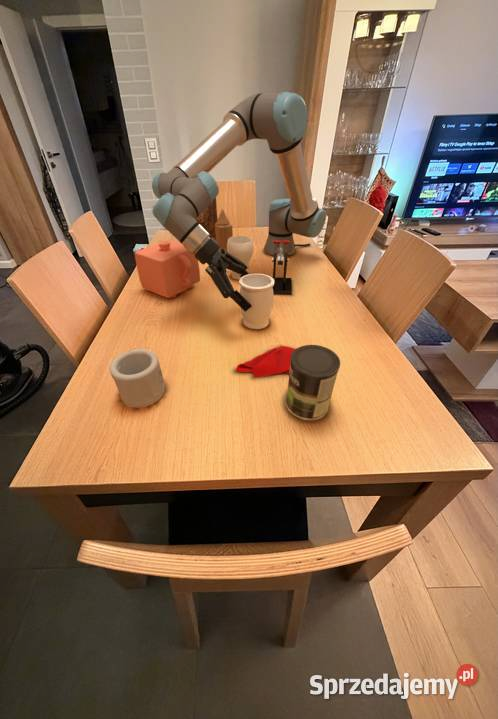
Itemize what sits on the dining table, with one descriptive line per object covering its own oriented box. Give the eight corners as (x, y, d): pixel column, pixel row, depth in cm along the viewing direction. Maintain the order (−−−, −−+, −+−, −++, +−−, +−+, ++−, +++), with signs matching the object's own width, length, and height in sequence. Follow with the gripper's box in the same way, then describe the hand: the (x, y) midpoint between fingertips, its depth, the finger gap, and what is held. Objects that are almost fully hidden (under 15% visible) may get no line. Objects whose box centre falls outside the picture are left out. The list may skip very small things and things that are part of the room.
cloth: (328, 350, 88) (330, 344, 86) (334, 383, 77) (335, 376, 76) (240, 344, 90) (240, 338, 88) (234, 376, 79) (234, 370, 78)
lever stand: (266, 280, 123) (267, 248, 115) (291, 280, 123) (294, 249, 114) (265, 293, 114) (266, 261, 106) (291, 294, 113) (294, 262, 105)
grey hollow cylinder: (167, 403, 72) (159, 372, 66) (120, 413, 70) (107, 382, 63) (163, 367, 82) (155, 338, 76) (122, 375, 80) (110, 345, 73)
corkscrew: (273, 242, 117) (273, 238, 114) (289, 243, 116) (289, 238, 114) (272, 264, 112) (272, 260, 110) (288, 265, 112) (288, 260, 109)
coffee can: (290, 422, 68) (296, 377, 58) (282, 389, 75) (286, 345, 66) (334, 419, 68) (347, 374, 59) (322, 387, 76) (332, 343, 67)
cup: (254, 271, 130) (254, 235, 120) (252, 282, 122) (252, 244, 112) (230, 270, 131) (228, 234, 121) (226, 281, 123) (224, 243, 113)
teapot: (181, 267, 133) (174, 225, 121) (220, 280, 123) (217, 236, 111) (135, 289, 117) (123, 242, 106) (176, 305, 107) (167, 257, 96)
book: (218, 237, 163) (214, 185, 147) (219, 241, 159) (216, 188, 143) (187, 240, 161) (180, 187, 144) (188, 243, 156) (181, 189, 140)
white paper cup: (275, 317, 101) (278, 275, 92) (267, 334, 94) (268, 290, 84) (246, 312, 104) (245, 271, 94) (235, 328, 97) (233, 285, 87)
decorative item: (216, 251, 148) (213, 207, 135) (228, 249, 150) (226, 205, 137) (221, 255, 143) (218, 210, 130) (233, 253, 146) (232, 208, 133)
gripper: (207, 240, 97) (252, 286, 105) (178, 271, 78) (235, 325, 86) (221, 223, 93) (267, 273, 100) (195, 253, 74) (253, 311, 82)
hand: (253, 297), depth 93 cm, fingers open, 13 cm apart
